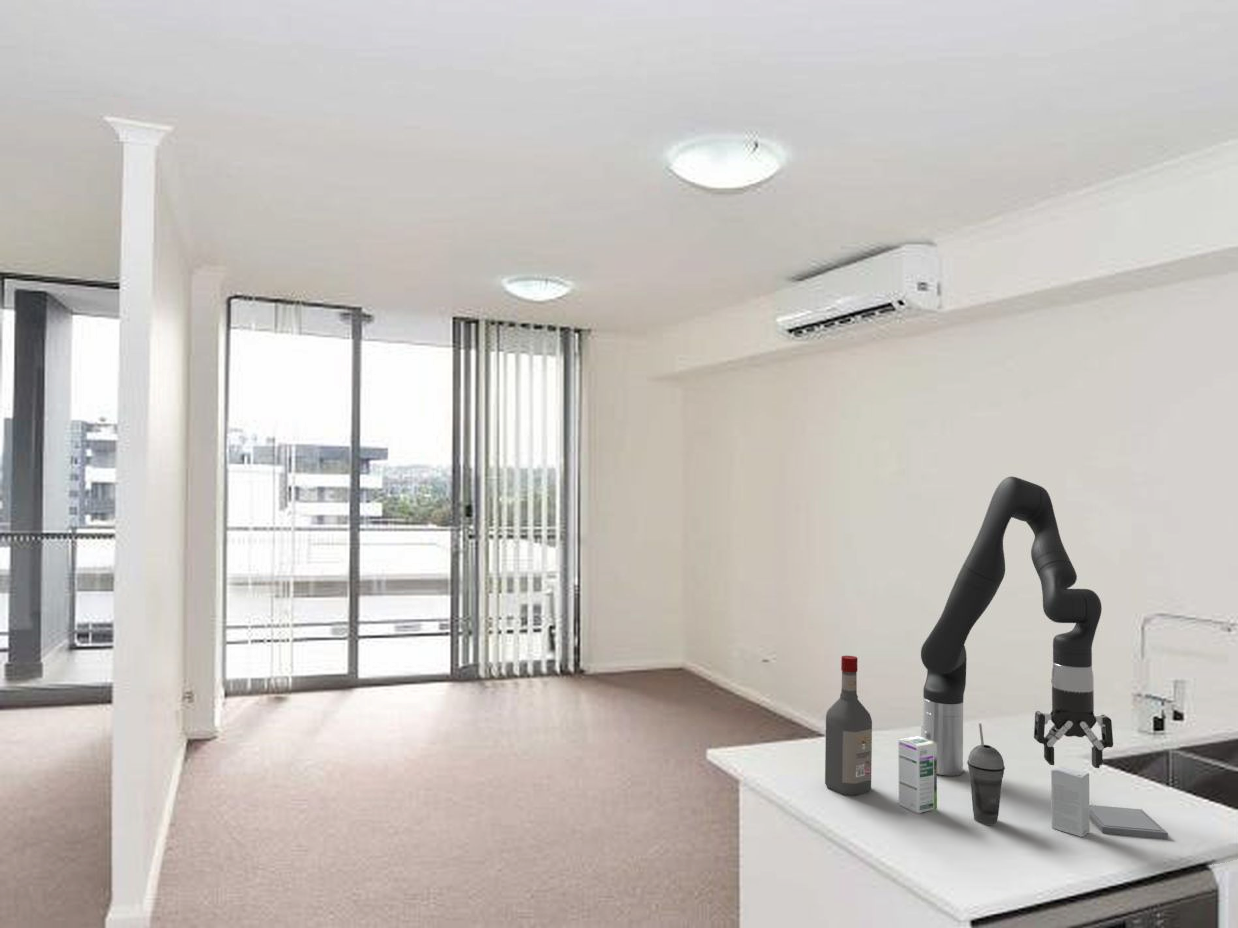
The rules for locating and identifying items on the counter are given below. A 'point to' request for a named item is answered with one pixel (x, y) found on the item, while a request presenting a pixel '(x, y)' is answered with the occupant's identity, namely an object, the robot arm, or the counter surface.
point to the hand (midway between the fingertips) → (1073, 765)
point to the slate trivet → (1125, 822)
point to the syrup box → (918, 774)
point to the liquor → (848, 738)
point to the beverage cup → (985, 781)
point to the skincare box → (1070, 801)
